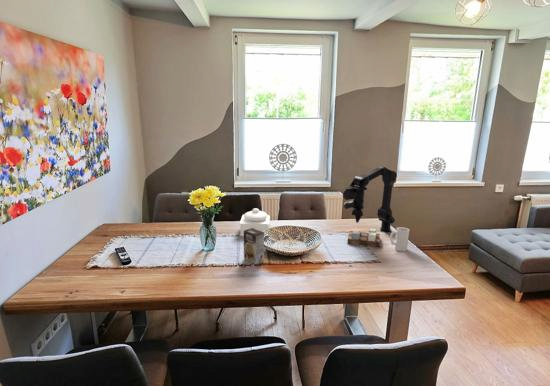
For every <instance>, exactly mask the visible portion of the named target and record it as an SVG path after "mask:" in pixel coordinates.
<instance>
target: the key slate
mask: <svg viewBox="0 0 550 386" xmlns="http://www.w3.org/2000/svg"><path fill="white" fill-rule="evenodd" d="M352 231H353V230H352ZM360 232H361V230H360V231H353V234H352V239H356V240H359V238H360Z"/></svg>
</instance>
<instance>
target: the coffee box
mask: <svg viewBox="0 0 550 386" xmlns="http://www.w3.org/2000/svg"><path fill="white" fill-rule="evenodd" d="M264 249H265V237H264V232H262V231H259V230H256V229H254V228H251V229H247V230H244V237H243V259H244V260H245V261H247V262H249V263H252V264H254V265H257V264H259V263H262V262H264V261H265V250H264Z"/></svg>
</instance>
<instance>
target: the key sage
mask: <svg viewBox="0 0 550 386" xmlns="http://www.w3.org/2000/svg"><path fill="white" fill-rule="evenodd" d="M376 231H377V229H376V228H368V233H376V234H377V232H376ZM368 235H369V234H368Z"/></svg>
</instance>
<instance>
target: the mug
mask: <svg viewBox="0 0 550 386" xmlns="http://www.w3.org/2000/svg"><path fill="white" fill-rule="evenodd" d="M393 235H395V240H394V241H393ZM409 235H410V228H408V227H403V226H400V227H399V226H398V227H396V230H391V232H390V236H389V240H390V243H391V245H392V246H393V245H394V249H395V250H396V251H399V252H406V251H407V249H408V244H409Z"/></svg>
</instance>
